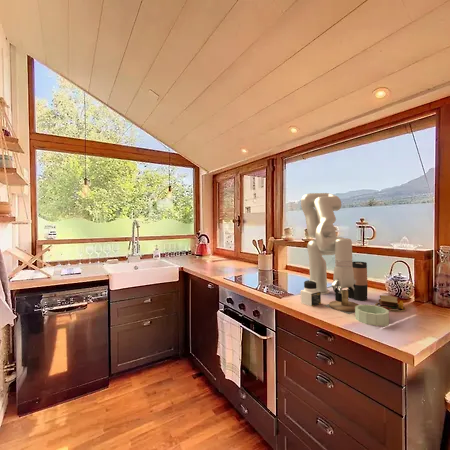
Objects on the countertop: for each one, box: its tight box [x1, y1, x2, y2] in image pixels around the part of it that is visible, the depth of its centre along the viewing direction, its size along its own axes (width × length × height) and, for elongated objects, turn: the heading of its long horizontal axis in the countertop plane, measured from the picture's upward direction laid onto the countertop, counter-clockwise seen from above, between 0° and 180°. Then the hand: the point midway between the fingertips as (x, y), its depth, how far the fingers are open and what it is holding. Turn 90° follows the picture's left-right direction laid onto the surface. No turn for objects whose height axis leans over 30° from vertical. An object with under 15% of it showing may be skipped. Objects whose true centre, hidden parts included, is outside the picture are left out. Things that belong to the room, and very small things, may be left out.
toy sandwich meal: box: [374, 294, 407, 313], centre depth 119 cm, size 12×14×5 cm
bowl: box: [354, 304, 390, 328], centre depth 104 cm, size 12×12×5 cm
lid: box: [329, 289, 360, 313], centre depth 121 cm, size 14×14×8 cm
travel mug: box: [352, 261, 368, 302], centre depth 133 cm, size 8×8×20 cm
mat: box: [323, 304, 355, 315], centre depth 121 cm, size 14×14×1 cm
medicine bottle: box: [300, 279, 322, 307], centre depth 128 cm, size 7×7×12 cm
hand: (344, 299), depth 121 cm, fingers open, 8 cm apart
